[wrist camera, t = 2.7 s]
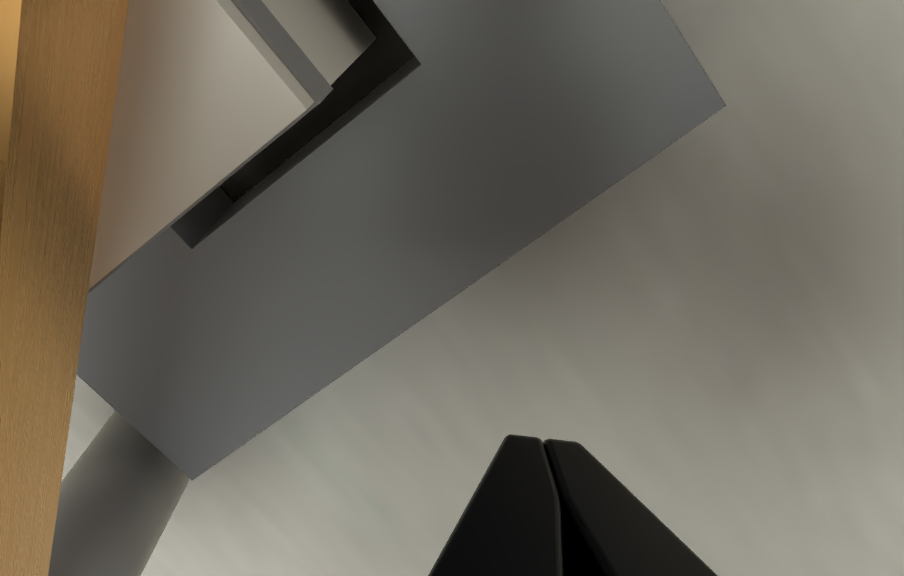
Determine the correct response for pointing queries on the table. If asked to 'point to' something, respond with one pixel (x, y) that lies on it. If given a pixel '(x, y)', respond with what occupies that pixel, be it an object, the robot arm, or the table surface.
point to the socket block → (360, 240)
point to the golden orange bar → (47, 244)
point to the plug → (208, 103)
